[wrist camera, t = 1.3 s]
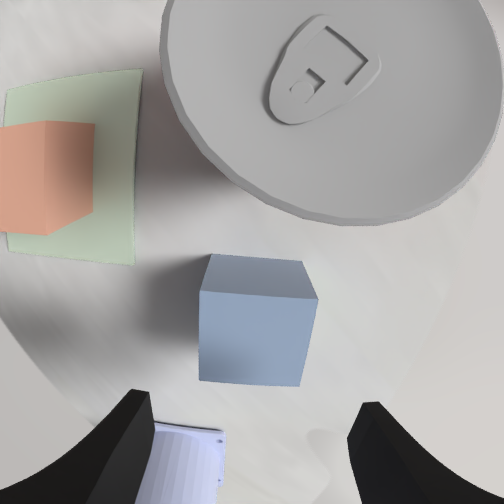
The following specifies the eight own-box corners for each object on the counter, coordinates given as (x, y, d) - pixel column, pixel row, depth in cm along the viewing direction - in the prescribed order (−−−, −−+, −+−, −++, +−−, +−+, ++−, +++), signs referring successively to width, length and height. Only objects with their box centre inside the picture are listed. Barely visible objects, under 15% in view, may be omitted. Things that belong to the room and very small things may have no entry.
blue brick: (289, 335, 19) (299, 386, 15) (208, 329, 19) (198, 380, 15) (301, 260, 18) (318, 299, 13) (212, 253, 18) (199, 290, 13)
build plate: (135, 263, 18) (133, 265, 17) (11, 249, 17) (8, 251, 17) (143, 69, 14) (141, 68, 14) (9, 90, 14) (7, 89, 14)
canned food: (192, 143, 16) (92, 140, 5) (254, 14, 13) (261, -128, 3) (325, 201, 17) (432, 288, 6) (382, 75, 14) (525, 21, 4)
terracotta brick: (93, 212, 16) (47, 235, 12) (29, 209, 16) (-21, 229, 12) (94, 123, 15) (46, 120, 10) (29, 130, 15) (-24, 132, 10)
